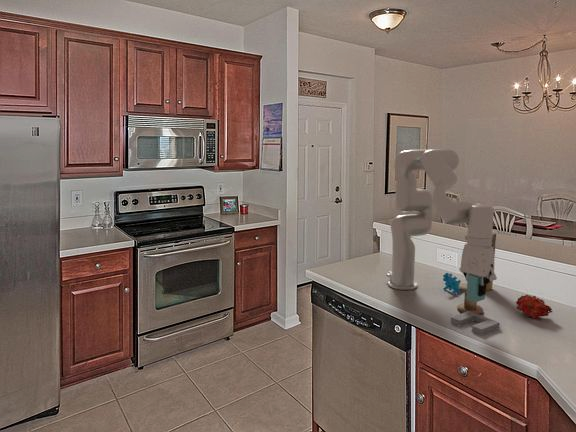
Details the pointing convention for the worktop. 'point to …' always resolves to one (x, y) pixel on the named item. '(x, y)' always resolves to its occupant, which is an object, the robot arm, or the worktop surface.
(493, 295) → the worktop surface
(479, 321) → the notched board
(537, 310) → the dragon fruit
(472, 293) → the teal tab
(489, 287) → the paper tube
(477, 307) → the door knob
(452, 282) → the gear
